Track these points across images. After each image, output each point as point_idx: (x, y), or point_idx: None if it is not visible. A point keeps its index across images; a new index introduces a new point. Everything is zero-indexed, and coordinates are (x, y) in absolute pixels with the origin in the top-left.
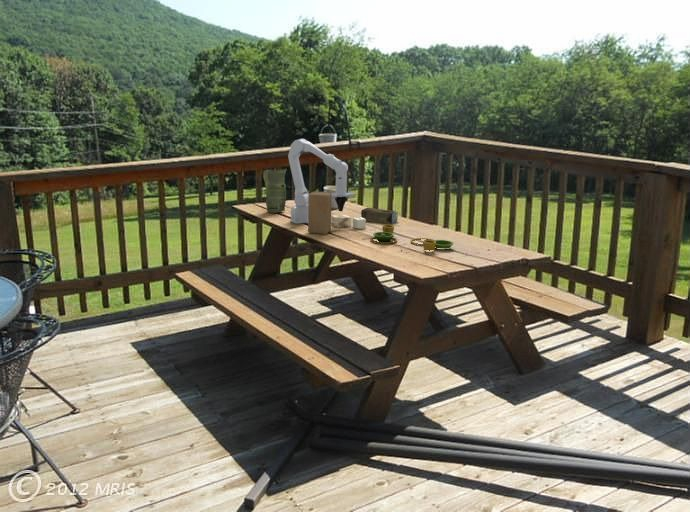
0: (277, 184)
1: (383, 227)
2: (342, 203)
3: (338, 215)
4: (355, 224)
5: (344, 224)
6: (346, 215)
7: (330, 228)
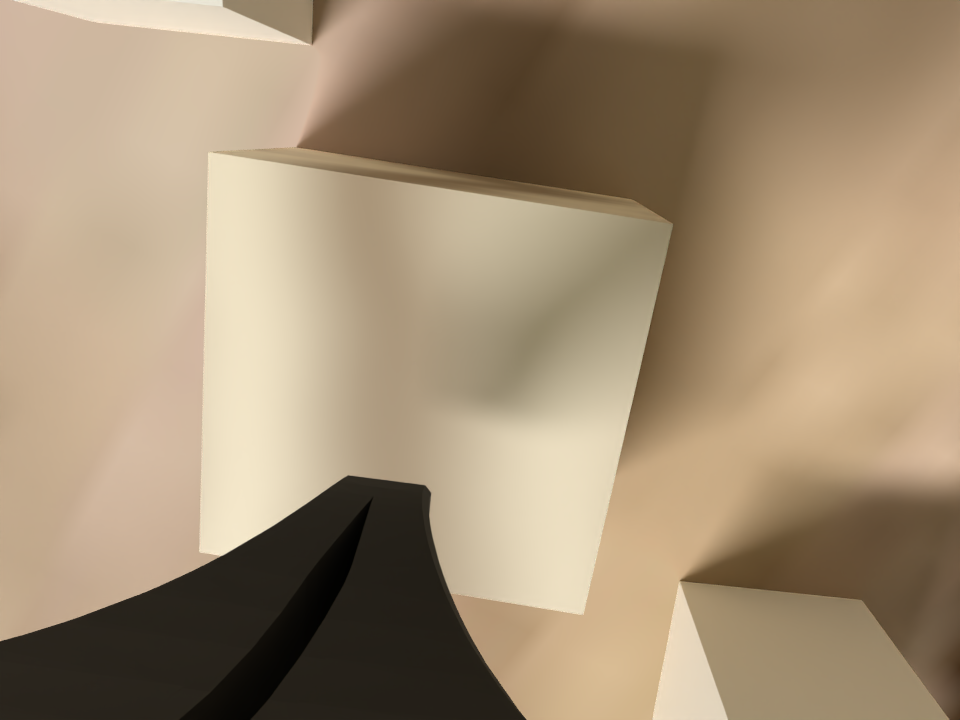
0: None
1: None
2: (274, 634)
3: None
4: None
5: (456, 176)
6: (222, 438)
7: None
